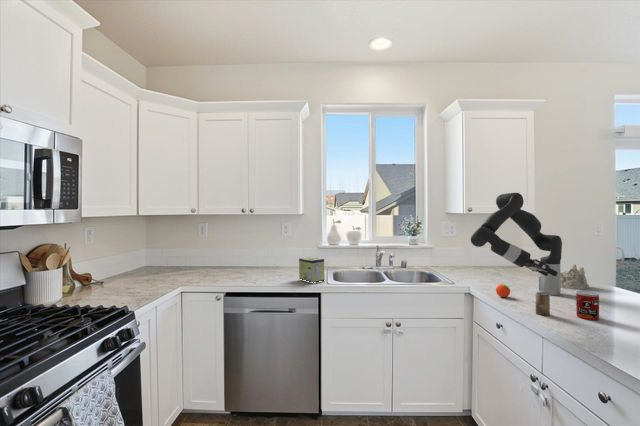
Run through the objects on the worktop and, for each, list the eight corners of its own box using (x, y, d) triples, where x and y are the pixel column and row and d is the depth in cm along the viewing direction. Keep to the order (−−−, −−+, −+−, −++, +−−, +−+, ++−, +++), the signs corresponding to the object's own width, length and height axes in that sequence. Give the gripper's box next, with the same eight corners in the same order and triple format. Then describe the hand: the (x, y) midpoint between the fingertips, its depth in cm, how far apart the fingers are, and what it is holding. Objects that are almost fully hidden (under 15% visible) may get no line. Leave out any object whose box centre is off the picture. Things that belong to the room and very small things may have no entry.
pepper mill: (533, 313, 146) (533, 291, 146) (539, 311, 148) (539, 290, 148) (545, 316, 141) (545, 294, 141) (552, 314, 144) (552, 292, 144)
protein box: (310, 278, 228) (309, 256, 228) (325, 281, 217) (324, 259, 217) (298, 280, 221) (298, 258, 221) (313, 284, 210) (313, 260, 210)
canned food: (575, 318, 139) (575, 293, 139) (577, 313, 145) (577, 289, 145) (598, 322, 134) (598, 296, 134) (599, 317, 140) (599, 292, 140)
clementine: (515, 298, 171) (515, 285, 171) (505, 299, 169) (504, 286, 169) (502, 294, 178) (502, 282, 178) (492, 295, 176) (492, 283, 176)
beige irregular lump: (594, 288, 190) (591, 263, 191) (573, 291, 186) (570, 265, 187) (568, 284, 205) (565, 260, 206) (548, 287, 201) (545, 263, 202)
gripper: (525, 247, 139) (564, 267, 134) (514, 249, 153) (548, 267, 148) (517, 261, 139) (555, 282, 134) (506, 262, 152) (540, 281, 148)
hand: (551, 274), depth 141 cm, fingers open, 8 cm apart
